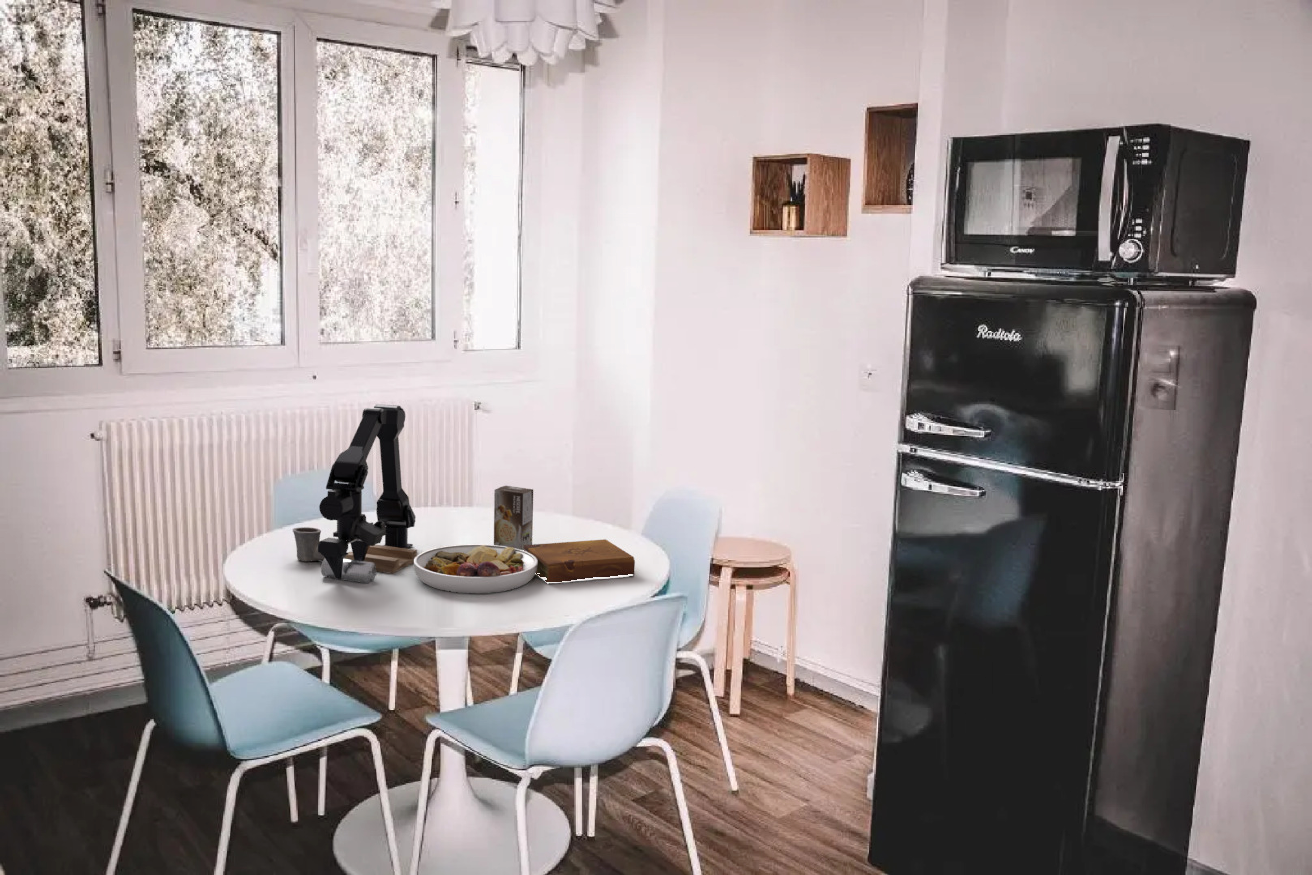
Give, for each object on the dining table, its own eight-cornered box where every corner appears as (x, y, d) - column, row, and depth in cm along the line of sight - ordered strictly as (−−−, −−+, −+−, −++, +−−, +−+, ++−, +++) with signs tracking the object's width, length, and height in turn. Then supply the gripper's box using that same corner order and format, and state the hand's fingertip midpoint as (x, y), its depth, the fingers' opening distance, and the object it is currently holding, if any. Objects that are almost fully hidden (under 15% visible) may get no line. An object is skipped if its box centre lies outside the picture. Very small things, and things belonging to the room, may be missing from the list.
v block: (369, 554, 307) (369, 542, 307) (418, 560, 303) (418, 549, 303) (342, 566, 295) (342, 554, 294) (392, 573, 291) (392, 561, 290)
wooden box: (548, 587, 288) (548, 564, 287) (522, 566, 304) (523, 545, 303) (634, 579, 298) (635, 556, 297) (605, 559, 314) (605, 538, 313)
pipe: (334, 566, 294) (334, 535, 293) (287, 561, 297) (286, 530, 296) (345, 560, 300) (345, 530, 299) (299, 555, 303) (298, 525, 302)
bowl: (402, 567, 298) (402, 536, 297) (516, 559, 310) (517, 530, 309) (429, 602, 271) (429, 569, 270) (553, 592, 283) (554, 560, 282)
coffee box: (533, 546, 322) (535, 489, 319) (522, 551, 316) (523, 493, 314) (503, 542, 325) (505, 484, 323) (492, 547, 320) (493, 489, 317)
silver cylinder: (332, 573, 289) (332, 553, 288) (376, 579, 285) (376, 559, 284) (321, 579, 284) (320, 559, 283) (365, 586, 281) (365, 565, 280)
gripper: (358, 523, 271) (357, 588, 274) (398, 506, 289) (398, 568, 291) (315, 517, 274) (315, 582, 277) (358, 501, 292) (358, 563, 294)
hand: (349, 574), depth 285 cm, fingers open, 9 cm apart
